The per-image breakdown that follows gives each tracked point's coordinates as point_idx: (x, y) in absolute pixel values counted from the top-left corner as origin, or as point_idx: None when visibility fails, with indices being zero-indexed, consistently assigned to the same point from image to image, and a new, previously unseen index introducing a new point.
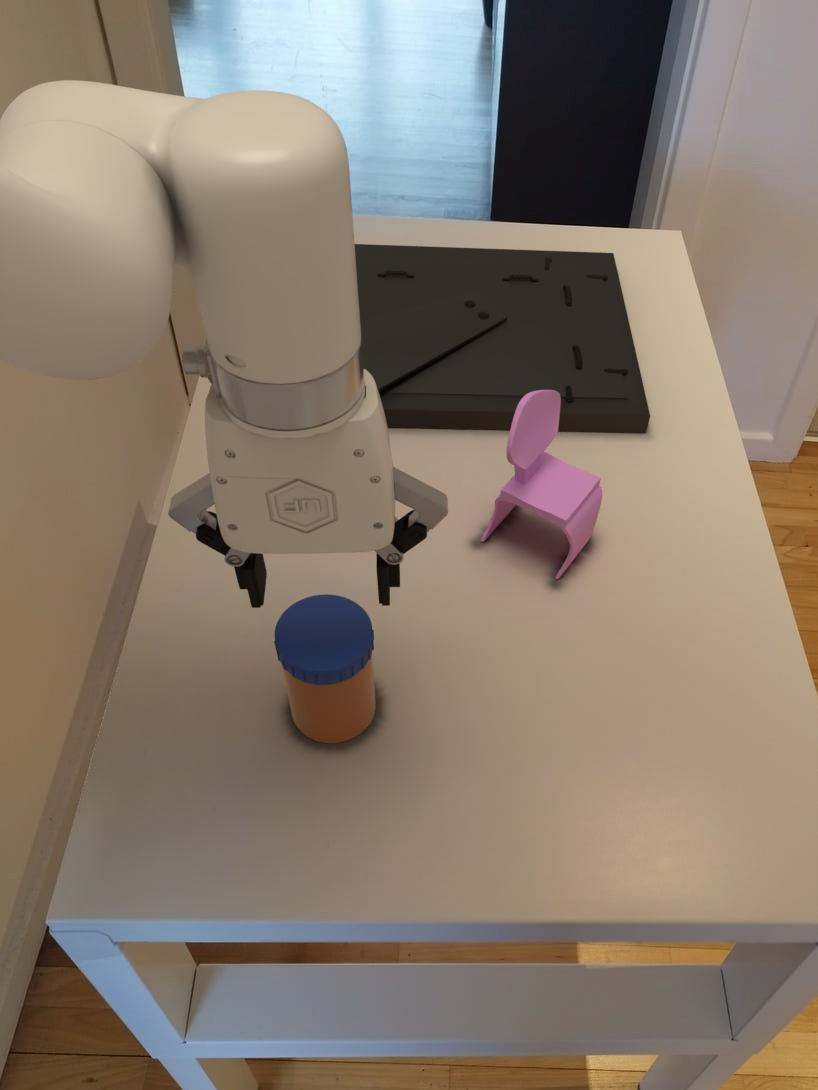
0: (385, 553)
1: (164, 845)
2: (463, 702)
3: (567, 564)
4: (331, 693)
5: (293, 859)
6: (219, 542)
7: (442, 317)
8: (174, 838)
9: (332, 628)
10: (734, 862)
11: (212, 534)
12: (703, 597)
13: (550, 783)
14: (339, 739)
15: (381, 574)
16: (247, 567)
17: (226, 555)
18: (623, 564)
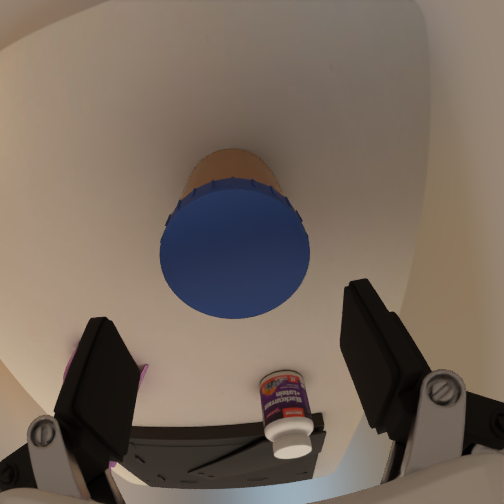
0: (51, 449)
1: (366, 35)
2: (107, 218)
3: (74, 351)
4: (214, 175)
5: (240, 20)
6: (477, 420)
7: (224, 472)
8: (359, 40)
9: (222, 268)
10: None
11: (496, 437)
12: (3, 327)
13: (25, 153)
14: (216, 152)
15: (71, 393)
16: (410, 377)
17: (464, 396)
18: (50, 350)
